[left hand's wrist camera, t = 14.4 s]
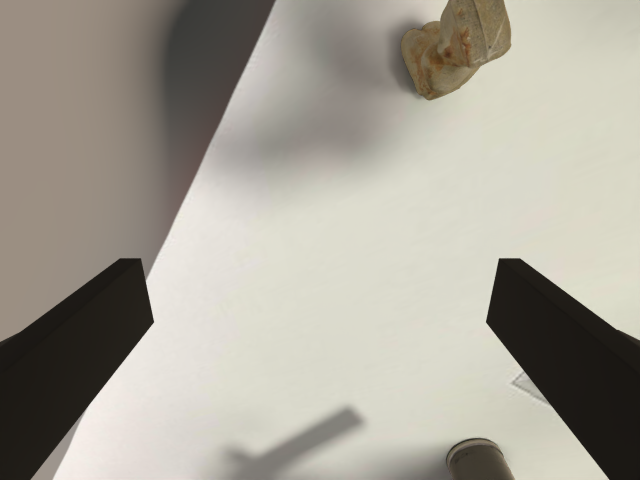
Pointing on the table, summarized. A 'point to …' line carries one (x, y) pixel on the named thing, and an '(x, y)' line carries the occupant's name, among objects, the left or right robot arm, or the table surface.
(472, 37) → the sculpture
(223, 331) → the table surface
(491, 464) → the right robot arm
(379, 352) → the table surface
